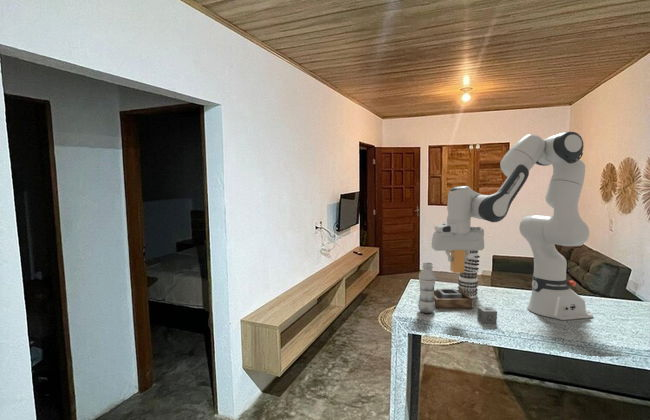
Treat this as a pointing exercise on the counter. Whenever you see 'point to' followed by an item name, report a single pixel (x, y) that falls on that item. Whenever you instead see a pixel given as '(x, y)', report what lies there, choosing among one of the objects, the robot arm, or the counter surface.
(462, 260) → the block
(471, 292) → the decorative candle
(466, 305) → the walled box
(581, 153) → the robot arm
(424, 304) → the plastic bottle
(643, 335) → the counter surface
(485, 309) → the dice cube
